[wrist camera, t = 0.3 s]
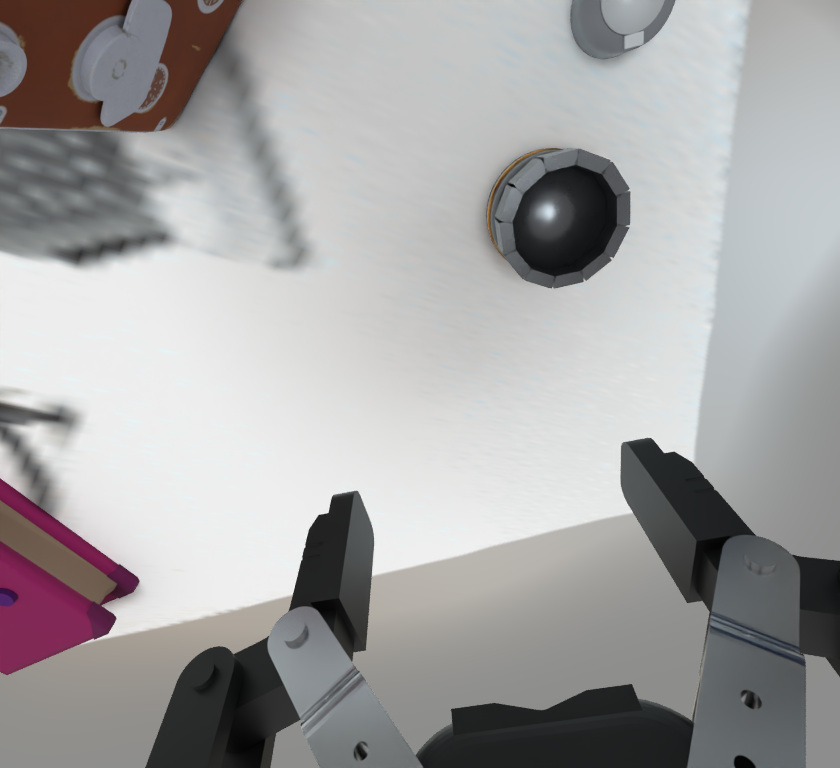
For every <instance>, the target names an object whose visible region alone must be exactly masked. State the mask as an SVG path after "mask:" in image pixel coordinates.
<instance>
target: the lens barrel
mask: <svg viewBox="0 0 840 768" xmlns="http://www.w3.org/2000/svg"><path fill="white" fill-rule="evenodd" d="M627 190H629V187H628V185H627V184H626V182H625V181H624V179H623V178H622V176H621V174H620V173H619V171H618V170H617V168H616V166H615V165H614V163H613V162H610V160H608V159H606V158H603V157H600V156H598V155H595V154H592V153H590V152H587V151H584V150H582V149H557V148H547V149H541V150H537V151H534V152H531V153H528V154H526V155H524V156H522V157H520V158H518V159H517V160H515V161H514V162H513V163H512V164H510V165H509V166H508V167H507V168H506V169H505V170H504V171H503V172H502V174H501V175H500V176H499V178H498V179H497V181H496V183H495V184H494V186H493V188H492V191H491V193H490V196H489V200H488V205H487V215H486V217H487V226H488V231H489V234H490V237H491V240H492V242H493V244H494V246H495V247H496V249H497V250H498V251H499V253H500V254H501V255H502V256H503V257H504V258H505V259H506V260H507V261H508V262H509V263H510V264H511V265H512V267H513V268H514V269H515V270H516V271H517V273H518V274H519V275H520V276H521V277H522V279H524V280H526V281H529V282H532V283H535V284H539V285H542V286H545V287H548V288H552V287H553V288H559V287H563V286H568V285H572V284H577V283H581V282H583V279H585V280H588V279H589V278H590V277H591V276H593V275H594V274H595V273H596V272H598V271H599V270H600V269H601V268H603V267H604V266H605V265H606V264H608V263H609V262H610V261H611V259H610V257H613V258H614V256H615V254H616V252H617V250H618V249H619V247H620V245H621V243H622V241H623V239H624V237H625V235H626V233H627V231H628V229H629V227H626V225H630V191H627ZM609 256H610V257H609Z"/></svg>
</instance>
